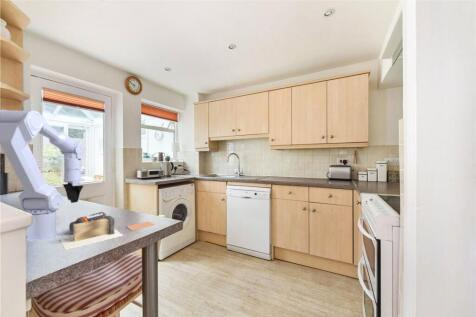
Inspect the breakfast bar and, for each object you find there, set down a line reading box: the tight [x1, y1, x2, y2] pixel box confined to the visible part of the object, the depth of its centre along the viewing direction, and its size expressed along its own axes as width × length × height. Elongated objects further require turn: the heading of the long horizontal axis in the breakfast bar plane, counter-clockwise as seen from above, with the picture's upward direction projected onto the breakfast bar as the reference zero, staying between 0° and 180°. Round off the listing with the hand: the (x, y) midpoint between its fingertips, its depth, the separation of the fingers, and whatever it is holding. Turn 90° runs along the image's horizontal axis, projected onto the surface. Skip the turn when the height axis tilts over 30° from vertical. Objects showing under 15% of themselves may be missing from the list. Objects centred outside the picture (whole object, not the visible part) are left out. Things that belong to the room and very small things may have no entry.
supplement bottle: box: [68, 211, 107, 234], centre depth 79 cm, size 6×6×11 cm
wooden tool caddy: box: [72, 215, 115, 242], centre depth 73 cm, size 11×6×6 cm, turn 136°
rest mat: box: [59, 227, 124, 251], centre depth 71 cm, size 16×12×1 cm
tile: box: [125, 221, 156, 232], centre depth 83 cm, size 1×6×9 cm
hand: (72, 201), depth 88 cm, fingers open, 7 cm apart
